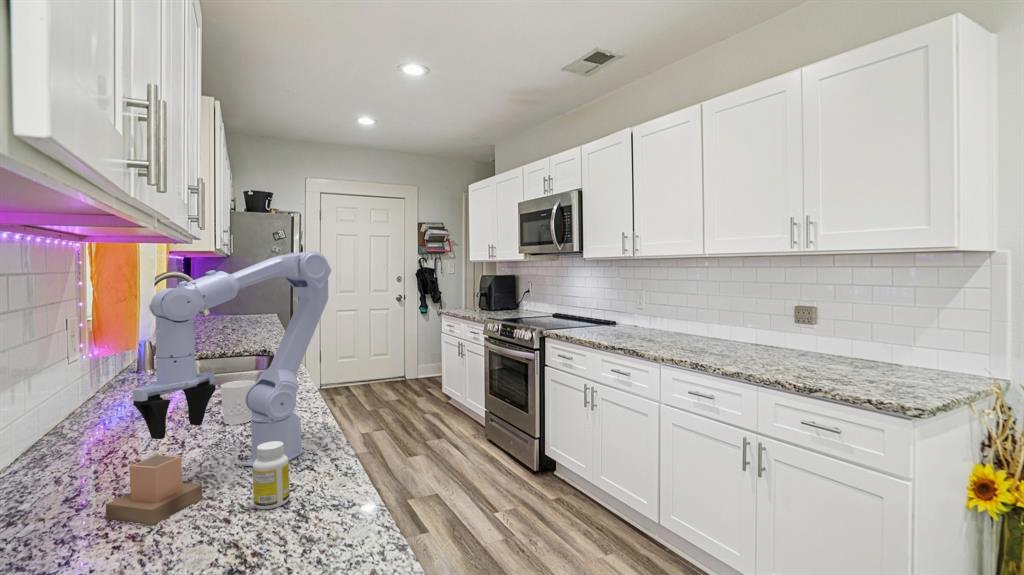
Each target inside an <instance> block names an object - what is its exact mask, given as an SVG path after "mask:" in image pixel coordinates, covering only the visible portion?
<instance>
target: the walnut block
mask: <svg viewBox="0 0 1024 575" xmlns="http://www.w3.org/2000/svg"><path fill="white" fill-rule="evenodd" d="M202 500H203V485H202V484H195V483H187V482H182V489H181V490H179V491H177V492H176V493H174V494H172V495H170V496H168V497H166V498H164V499H162V500H160V501H158V502H147V501H137V500H131V493H130V492H129V493H127V494H125V495H123V496H121V497H118V498H116V499H114V500H111V501H109V502H107V503H105V520H106V519H109V520H108V521H112V520H116V521H115V522H119V521H124V522H123V523H126V522H133V523H140V524H146V525H145V526H147V525H150V526H149V527H153V526H156V525H157V524H159V523H161V522H162V520H163V521H165V520H166V519H165V518H167V517H168V518H170V517H172V516H173V515H172V514H174V515H176V514H177V513H176V512H178V511H180V510H182V509H183V510H185V509H186V507H187V508H189V507H191V506H192V504H193V505H195V504H197V503H198V502H200V501H202ZM196 502H197V503H196ZM194 503H195V504H194ZM190 505H191V506H190ZM188 506H189V507H188ZM184 508H185V509H184ZM183 510H182V511H183ZM180 512H181V511H180ZM175 513H176V514H175ZM178 513H179V512H178ZM171 515H172V516H171ZM169 516H170V517H169ZM168 518H167V519H168ZM164 519H165V520H164ZM160 521H161V522H160ZM158 522H159V523H158ZM133 523H132V524H133ZM156 523H157V524H156ZM140 524H139V525H140Z"/></svg>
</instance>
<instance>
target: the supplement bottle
mask: <svg viewBox="0 0 1024 575" xmlns="http://www.w3.org/2000/svg"><path fill="white" fill-rule="evenodd" d="M283 450H284V447H283V442H280V441H272V442H266V443H263V444H260V445H259V446H258V447H257V456H258V457H259V458H257V459H256V460H255V461H254V463H253V466H252V478H253V479H252V482H253V485H252V486H253V489H252V490H253V505H254V507H255V508H256V509H259V510H271V509H275V508H278V507H280V506H282V505H284V504H286V503H287V502H288V501H289V500H290V469H289V468H290V467H289V466H290V465H289V463H290V462H289V461H288V457H287V456H286V455H284V454H282V453H283Z"/></svg>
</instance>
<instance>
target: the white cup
mask: <svg viewBox="0 0 1024 575" xmlns="http://www.w3.org/2000/svg"><path fill="white" fill-rule="evenodd" d="M255 383H256V381H255V380H247V379H246V380H235V381H228V382H225V383H222V384H221V385H220V395H221V398H220V399H221V407H222V414H223V424H224V423H225V424H240V423H245V422H249V421H251V416H252V411H251V410H250V409H249V408H248V407H247V405H246V403H245V397H246V394H247V392H248V390H249V389H250V388H251V387H252V386H253V385H254V384H255ZM249 423H250V422H249ZM225 424H224V425H225Z"/></svg>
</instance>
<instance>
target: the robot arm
mask: <svg viewBox="0 0 1024 575" xmlns="http://www.w3.org/2000/svg"><path fill="white" fill-rule="evenodd" d="M331 273H332V268H331V267H330V264H329V262H328V259H327V258H326V257H325V255H324V254H322V253H320V252H319V251H309V252H288V253H287V254H282V255H281V254H280V255H277V256H276V255H275V256H274V257H270V258H267V259H266V260H263V261H260V262H258V263H256V264H252V265H250V266H248V267H246V268H243V269H241V270H237V271H236V272H233V273H228V272H225V271H222V270H219V271H216V270H213V269H212V270H211V269H210V270H209V271H206V272H205V275H204V276H201V277H199V278H196V279H194V280H190V281H187V280H183V281H180V282H178V287H176V288H174V287H173V288H172V287H169V288H164V289H160V290H158V292H156V293H155V294H154V295H153V296H152V299H151V301H150V303H149V304H148V309H149V310H150V313H151V314H152V315H153V317H155V331H154V332H155V333H154V334H155V361H156V362H155V363H156V381H153V382H151V383H148V384H145V385H143V386H139V387H135V388H133V389H132V401H133V406H134V407H135V408H136V409H137V411H138V412H139V413H140V415H141V416H142V418H143V419H144V421H145V423H146V426H147V428H148V432H149V435H150V437H151V439H153V440H162V439H163V440H164V439H165V437H166V431H167V430H166V429H167V426H166V425H167V424H166V423H167V416H168V410H169V407H170V404H171V399H167V398H165V399H164V398H163V397H161V396H164V395H168V394H171V393H174V392H179V391H183V393H184V396H185V398H186V403H187V409H188V410H187V411H188V412H187V413H188V421H189V425H190V426H202V425H203V421H204V418H205V414H206V411H207V407H208V404H209V402H210V400H211V399H212V396H213V395H214V393H215V391H216V384H214V383H215V382H216V381H215V380H216V379H215V372H214V371H204V372H199V373H196V372H197V371H196V347H195V346H196V345H195V344H196V343H195V342H196V341H195V340H196V339H195V338H196V337H195V335H196V334H195V319H194V318H195V317H197V315H198V313H199V312H203V311H206V310H207V309H211V308H214V307H216V306H218V305H221V304H223V303H226V302H228V301H231V300H233V299H234V298H236V296H237V294H238V292H239V290H241V289H244V288H247V287H249V286H252V285H255V284H257V283H260V282H263V281H266V280H269V279H273V278H274V277H275V278H276V277H278V278H279V277H280V278H284V279H285V280H286V281H287V282H288V283H289V284H290V286H292V288H294V290H295V292H296V294H297V296H298V299H299V300H298V302H297V305H296V307H295V310H294V312H293V314H292V316H291V318H290V320H289V321H288V325H287V327H286V329H285V331H284V334H283V336H282V339H281V341H280V343H279V345H278V348H277V349H276V351H275V354H274V356H273V359H272V360H271V362H270V365H269V367H268V368H267V369H266V370H264V371H263V372H262V373H260V375H259V376H258V377H257V380H256V381H255V384H254V385H253V386H252V387H251V388H250V389H249V390H248V392H247V394H246V397H245V403H246V405H247V407H248V408H249V409H250V410H251V411H252V416H251V422H250V424H251V427H250V428H251V430H250V431H251V457H250V458H249V459H246V460H245V461H243V462H241V466H246V467H253V463H254V461H255V460H256V459H257V458H259V457H258V456H257V447H258V446H259V445H260V444H263V443H266V442H272V441H280V442H283V447H284V450H283V453H282V454H284V455H286V456H287V457H288V462H289V461H291V460H293V459H295V458H297V457H299V456H300V455H302V454H304V453H305V452H306V450H305V449H302V422H301V420H300V418H299V416H298V415H297V413H295V412H294V410H295V408H296V405H297V392H298V389H300V388H299V387H300V386H299V382H298V379H297V373H298V370H299V368H300V367H301V364H302V361H303V359H304V358H305V354H306V352H307V350H308V347H309V345H310V343H311V340H312V338H313V336H314V333H315V331H316V328H317V327H318V324H319V322H320V319H321V317H322V314H323V313H324V310H325V308H326V306H327V303H328V300H329V277H330V275H331Z"/></svg>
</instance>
